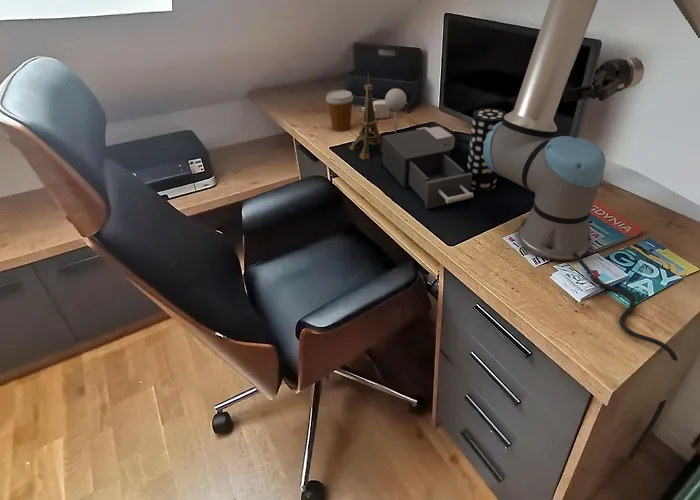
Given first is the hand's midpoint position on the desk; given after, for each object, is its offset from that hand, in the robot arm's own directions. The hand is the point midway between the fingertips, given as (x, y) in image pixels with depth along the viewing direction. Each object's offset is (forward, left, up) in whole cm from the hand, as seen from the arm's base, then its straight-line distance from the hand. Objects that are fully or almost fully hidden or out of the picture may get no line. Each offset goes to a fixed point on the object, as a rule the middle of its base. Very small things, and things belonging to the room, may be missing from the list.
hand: (546, 87), depth 110 cm
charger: (+37, +11, -28) cm, 47 cm away
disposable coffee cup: (+62, +34, -28) cm, 76 cm away
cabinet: (+21, +24, -27) cm, 42 cm away
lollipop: (+50, +18, -28) cm, 60 cm away
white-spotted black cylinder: (+7, +10, -28) cm, 30 cm away
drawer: (+4, +24, -26) cm, 36 cm away
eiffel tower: (+40, +31, -28) cm, 57 cm away
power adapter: (+66, +20, -28) cm, 74 cm away
